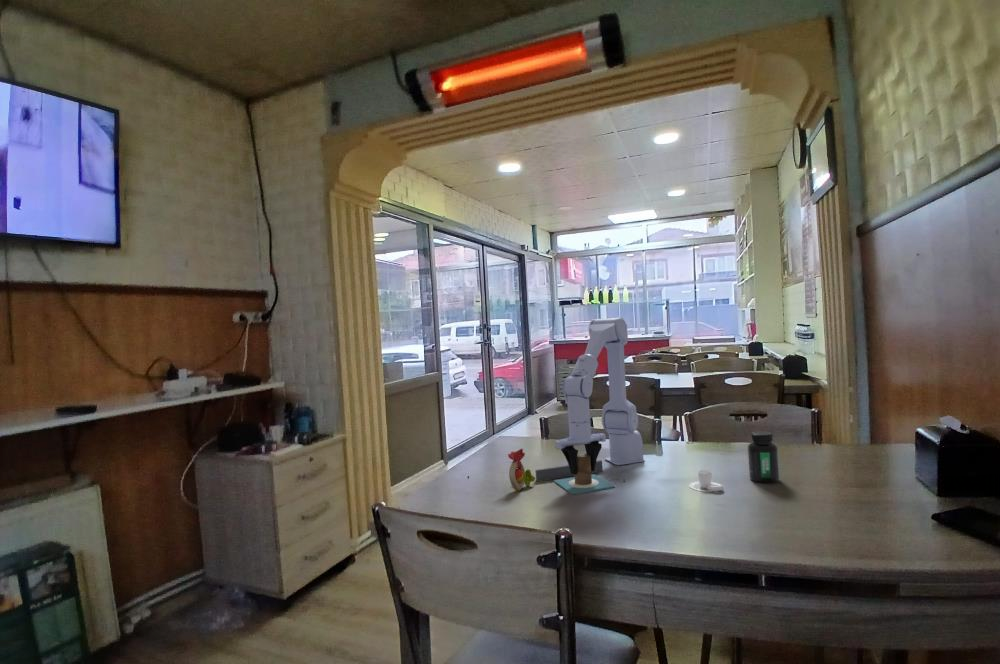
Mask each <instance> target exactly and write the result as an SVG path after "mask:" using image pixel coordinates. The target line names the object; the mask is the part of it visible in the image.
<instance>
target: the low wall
mask: <svg viewBox="0 0 1000 664" xmlns="http://www.w3.org/2000/svg"><path fill="white" fill-rule="evenodd" d="M534 472H535V481H536V482H542V481H543V482H544V481H548V480H557V479H564V478H570V477H574V474H572V473H571V471H570V468H569V465H568V464H565V465H560V466H553V467H545V468H538V469H537V468H536V469H535V471H534ZM599 472H603V460H601V459H599V460H598V459H597V460H596V465H595V470H594V471H591V474H593V473H594V474H595V473H599Z"/></svg>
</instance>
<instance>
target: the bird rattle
mask: <svg viewBox="0 0 1000 664" xmlns="http://www.w3.org/2000/svg"><path fill="white" fill-rule="evenodd" d="M523 451H524V449H523V448H520V449H518V450H517V451H511V452H510V453H508V455H507V457H508V458H509V459H510V460H512V462H511V464H510V467H509V470H508V471H509V472H508V475H509V476H508V477H509V482H510V484H511V486H512V487H513V488H514V491H515V492H517V493H518V492H520V491H521V489H522V488H523V487H524V485H525V486H526V487H529V486H530V485H531V483H532V482H535V481H536V476H534V475H533V474H532V471H531V470H530V469H529V468H527V469H526V470H525V467H524V465H523V464H522V460H523V458H524V457H525V456H526V455H525V452H523Z"/></svg>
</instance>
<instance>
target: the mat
mask: <svg viewBox="0 0 1000 664" xmlns="http://www.w3.org/2000/svg"><path fill="white" fill-rule="evenodd" d="M591 475H592V483H591V484H587V485H579V484H576V483H575V477H574V476H571V477H565V478H558V479H553V482H554V483H555V484H556V485H557V486H559V487H561V489H563V490H565V491H566V492H568V493H569V495H580V494H584V493H591V492H595V491H596V492H597V491H602V490H608V489H615V488H616V487H615V485H614V484H612V483H610V482H609V481H607V480H605V479H603V478H602V477H599V476H598V475H596V474H595V473H594V474H593V473H591Z"/></svg>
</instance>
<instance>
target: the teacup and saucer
mask: <svg viewBox="0 0 1000 664" xmlns="http://www.w3.org/2000/svg"><path fill="white" fill-rule="evenodd" d="M697 474H698V481H694V482H691V483H689V488H690V489H692V490H695V491H697V492H698V491H699V492H704V493H705V492H706V493H708V492H710V493H711V492H713V493H714V492H718V491H719V492H720V491H723V490H724V485H722V484H720V483H719V482H713V481H712V478H713V477H712V476H713V475H712V471H709V470H705V469H704V470H699V471H698V472H697ZM695 484H696V485H699V484H700V487H701V488H703V489H699V488H697V487H695V486H696V485H695ZM694 487H695V488H694ZM696 488H697V489H696ZM704 489H705V490H704ZM706 489H707V490H706Z"/></svg>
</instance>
